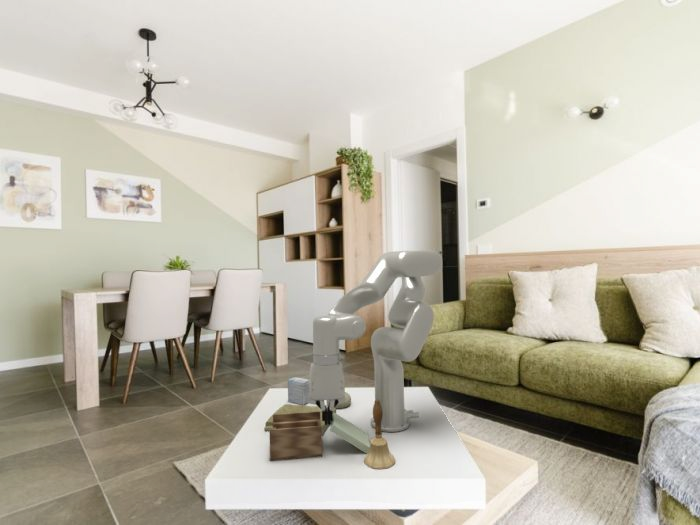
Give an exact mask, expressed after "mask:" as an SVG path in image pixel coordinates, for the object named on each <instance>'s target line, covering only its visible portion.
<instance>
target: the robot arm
mask: <svg viewBox="0 0 700 525" xmlns="http://www.w3.org/2000/svg"><path fill="white" fill-rule="evenodd" d="M442 267H443V258H442V255H440V253H439V252H438V251H436V250H433V249H425V250H399V251H397V250H396V251H388V252H384V253H383V254H381V255H380V257H378V259H377V261H376V262H375V263H374V265H373V266H372V268H371V269H369V271H368V273H367V274H366V276H364V279H363V280H362V281H360V283H359V284H358V285H356V286H355V287H353V288H352V289H351V290H350V291H348V292H347V293H346V294H344V295H343V296H341V298H339V299H338V301H336V303H335V304H334V306H333V307H332V308H331V309H330V310H329V313H328V314H327V315H320V316H316V317H314V319H313V321H312V342H313V343H312V348H313V349H312V350H313V351H312V354H313V355H312V356H313V358H312V359H313V360H312V361H313V362H311V364H310V369H309V379H308V380H309V394H310V396H309V400H308V402H309V403H308V404H309V405H313V406H318V407H319V408H320V409H321V410H322V421H324V422H325V425H327V421H328V424H329V425H330V421H331V420H333V409H334V408H335V406H336V405H337V404H338V403H342V402H345V401H346V399H345V392H346V391H345V388H346V387H345V378H344V377H345V375H344V368H343V362H341V360H345V354H342V353H340V341H341V340H342V341H345V340H346V341H354V340H358V339H360V338H362V336H363V335H364V334H365V332H366V330H367V329H366V328H367V326H366V325H367V324H366V321H365V320H364V318H362V317H361V316H360V315H357V314H356V312H358V311H360V310H361V309H362V308H364V307H366V306H369V305H372V304H375V303H377V302H379V301H382V300H383V299H384V298H385V296H386V294H387V293H388V291H390V288H392V286H393V284H394V282H395V281H396V280H397V279H398V278H401V286H400V288H399V291H398V293H397V295H396V297H395V299H394V301H393V303H392V304H391V307H390V309H389V312H388V316H387V317H388V322H389V323H390V324H391V325H392V326H394V327H391V326H382V327H378V328H376V329H375V330H374V331H373V332H372V335H371V337H370V338H371V339H370V349H371V351H372V357H373V365H374V401H375V400H380V404H381V407H382V412H383V416H382V421H381V432H387V433H396V432H401V431H404V430H407V429H408V428H409V427H410V420H411V419H419V418H420V413H419V411H413V410H412V409H409V410H406V409H405V382H404V372H405V371H404V365H403V362H405V363H406V362H407V363H408V362H409V363H410V362H412V361H413V362H414V361H415V360H416V359H417V358H418V356H419V355H420V353H421V351H422V349H423V348H424V345H425V342H426V341H427V338H428V337H429V334H430V331H431V330H432V327H433V324H434V320H435V319H434V318H435V317H434V316H435V314H434V313H435V312H434V310H433V308H432V306H431V305H430V304H429V303H427V302H426V301H423V300H424V297H425V292H426V289H425V285H424V282H423V280H422V278H421V277H428V276H434V275H435V276H436V274H439V272H440V271H441V269H442ZM327 400H330V401H329V405H328V406H326V405H325V401H327ZM326 407H328V408H326ZM370 425H371V426H372V427H373V428H374V429H375V421H374V418H373V417H372V418H371V419H370Z"/></svg>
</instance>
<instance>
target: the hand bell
mask: <svg viewBox="0 0 700 525" xmlns="http://www.w3.org/2000/svg"><path fill="white" fill-rule="evenodd" d="M382 416H383V412H382V407H381V404H380V400H375V399H374V404H373V408H372V418H374V421H375V428H374V429H375V432H374V433H375V437H373V438H371V440H370V442H369V444H370V450H369V451H368V453H366V455H365V457H364V459H363V462H364V464H365V465H366V466H367V467H368V468H371V469H375V470H384V469H389V468H391V467H393V466H394V465H395V464H396V459H395V456H394V455H393V454H391V452H390V450H389V444H388V440H387V438H385V437H383V435H382V432H383V431H381V421H382Z"/></svg>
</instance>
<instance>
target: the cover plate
mask: <svg viewBox="0 0 700 525" xmlns="http://www.w3.org/2000/svg"><path fill="white" fill-rule="evenodd" d="M329 428H330V429H329V430H330V432H331V433H333V434H335V435H336V436H338V437H340V438H341V439H343V440H345V441H346V442H348V443H349V444H351V445H352V446H354V447H355V448H357V449H359V450H360V451H362V452H363V453H365V454H368V453H369V450H370V440H369V435H368V432H366V431H365V430H363V429H362V428H360V427H359V426H357V425H356V424H354V423H352V422H351V421H349V420H348V419H346V418H344V417H342V416H341V415H339V414H338V413H337V412H336V413H334V412H333V420H331V421H330V426H329Z"/></svg>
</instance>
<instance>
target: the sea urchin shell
mask: <svg viewBox="0 0 700 525" xmlns="http://www.w3.org/2000/svg"><path fill="white" fill-rule="evenodd" d="M345 399H346V401H345V402H342V403H338V404H337V405H336V406H335V408H336V409H344V408H346V407H348V406H349V405H350V404H351V402H352V397H351V395H350V394H349V393H348V392H347V391H345ZM329 401H330V400H326V404H327V405H328V406H329Z"/></svg>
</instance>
